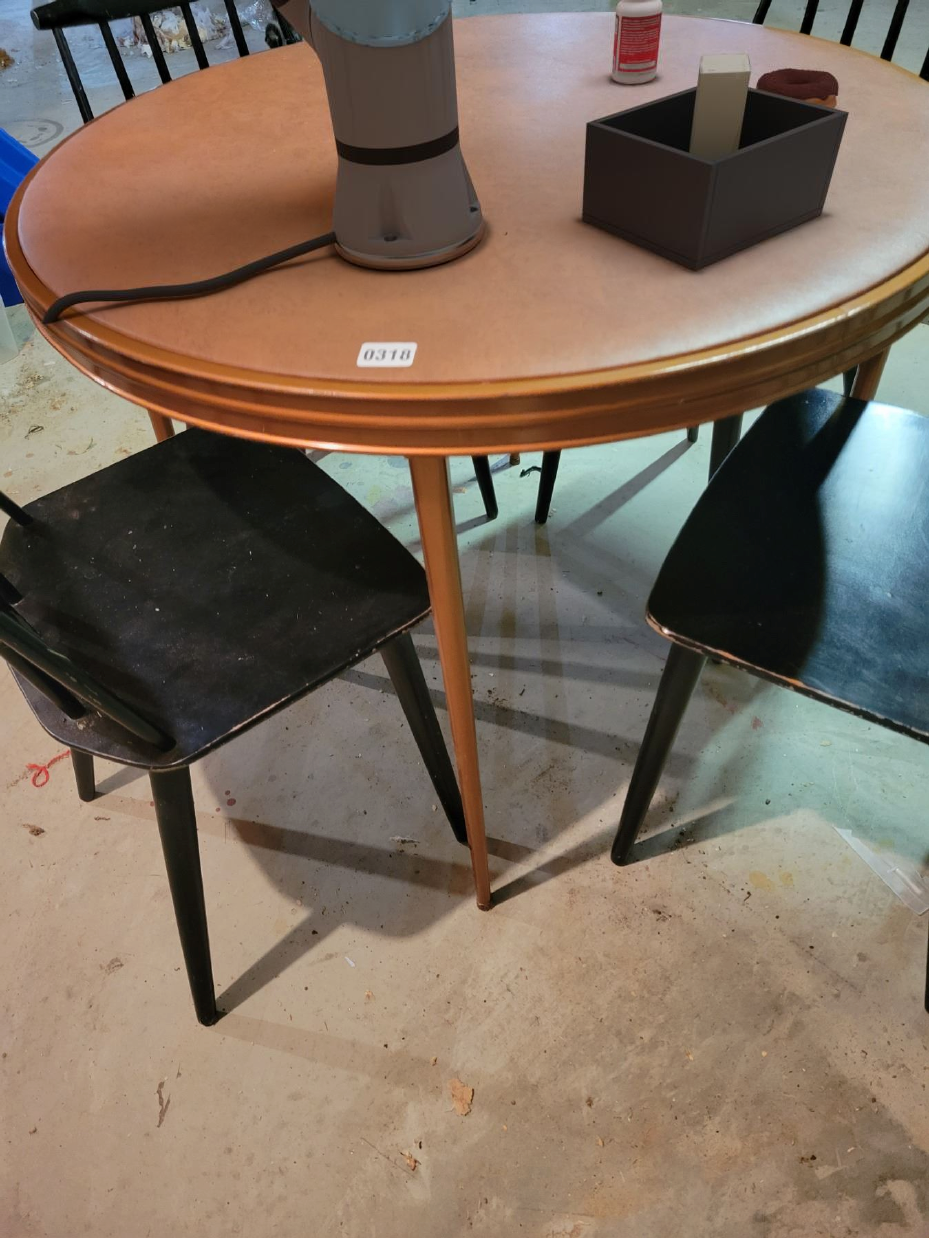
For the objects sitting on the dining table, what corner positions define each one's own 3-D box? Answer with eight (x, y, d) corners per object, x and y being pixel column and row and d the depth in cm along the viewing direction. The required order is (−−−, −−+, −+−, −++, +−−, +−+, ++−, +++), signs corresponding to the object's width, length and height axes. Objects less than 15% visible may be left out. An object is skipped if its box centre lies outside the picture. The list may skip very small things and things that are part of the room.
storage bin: (694, 271, 70) (711, 165, 64) (581, 220, 79) (585, 122, 72) (821, 214, 76) (849, 112, 69) (703, 173, 85) (717, 79, 78)
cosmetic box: (727, 221, 75) (753, 72, 66) (679, 220, 76) (699, 73, 66) (726, 195, 79) (751, 51, 70) (681, 195, 80) (700, 52, 70)
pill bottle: (664, 79, 108) (675, -22, 100) (627, 88, 106) (635, -14, 98) (638, 69, 112) (647, -29, 103) (603, 78, 110) (608, -21, 102)
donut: (852, 110, 95) (862, 72, 92) (799, 131, 91) (808, 91, 88) (785, 94, 101) (792, 57, 98) (733, 112, 97) (739, 75, 94)
